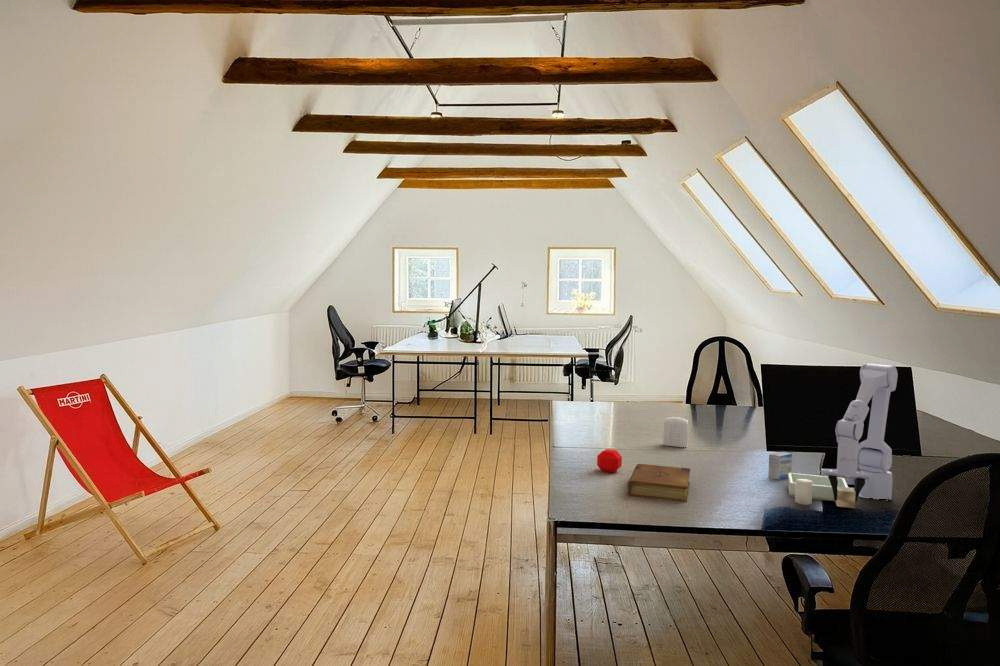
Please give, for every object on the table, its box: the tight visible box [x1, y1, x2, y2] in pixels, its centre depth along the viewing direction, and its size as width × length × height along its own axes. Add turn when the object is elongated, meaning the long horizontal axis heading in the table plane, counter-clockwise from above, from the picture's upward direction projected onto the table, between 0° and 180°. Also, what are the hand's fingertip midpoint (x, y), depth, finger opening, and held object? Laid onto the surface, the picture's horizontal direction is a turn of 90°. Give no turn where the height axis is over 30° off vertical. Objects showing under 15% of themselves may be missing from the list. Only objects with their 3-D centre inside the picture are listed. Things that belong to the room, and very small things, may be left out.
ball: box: [596, 448, 623, 474], centre depth 269 cm, size 8×8×8 cm
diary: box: [627, 463, 691, 503], centre depth 248 cm, size 23×19×6 cm
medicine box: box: [767, 451, 793, 481], centre depth 265 cm, size 8×4×9 cm, turn 126°
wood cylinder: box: [794, 479, 813, 506], centre depth 236 cm, size 5×5×7 cm
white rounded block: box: [662, 416, 690, 449], centre depth 311 cm, size 10×4×12 cm, turn 67°
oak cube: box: [834, 487, 856, 509], centre depth 231 cm, size 5×5×5 cm
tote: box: [787, 472, 849, 502], centre depth 246 cm, size 18×14×4 cm
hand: (845, 500), depth 231 cm, fingers closed on oak cube, 5 cm apart
